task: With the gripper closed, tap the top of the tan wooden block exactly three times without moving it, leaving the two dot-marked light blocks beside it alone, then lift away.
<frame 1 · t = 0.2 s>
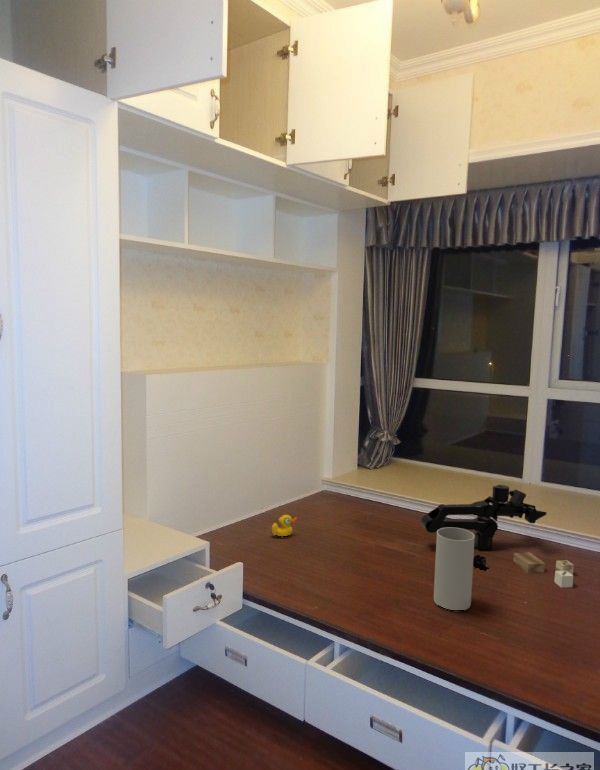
hand: (540, 510, 249), 17 cm above the table, tool horizontal, fingers open, 9 cm apart
cylinder vase: (451, 603, 199), on the table
pale birch block: (564, 573, 224), on the table
off-white painted block: (563, 584, 215), on the table
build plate: (479, 568, 229), on the table
tan wooden block: (528, 567, 230), on the table
duckling: (283, 537, 257), on the table
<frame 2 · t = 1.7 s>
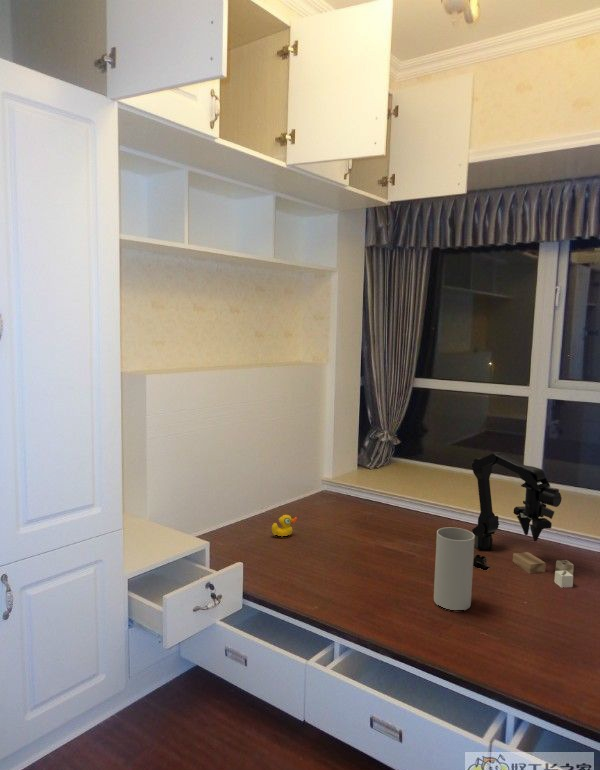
hand: (530, 537, 229), 12 cm above the table, tool pointing down, fingers open, 6 cm apart
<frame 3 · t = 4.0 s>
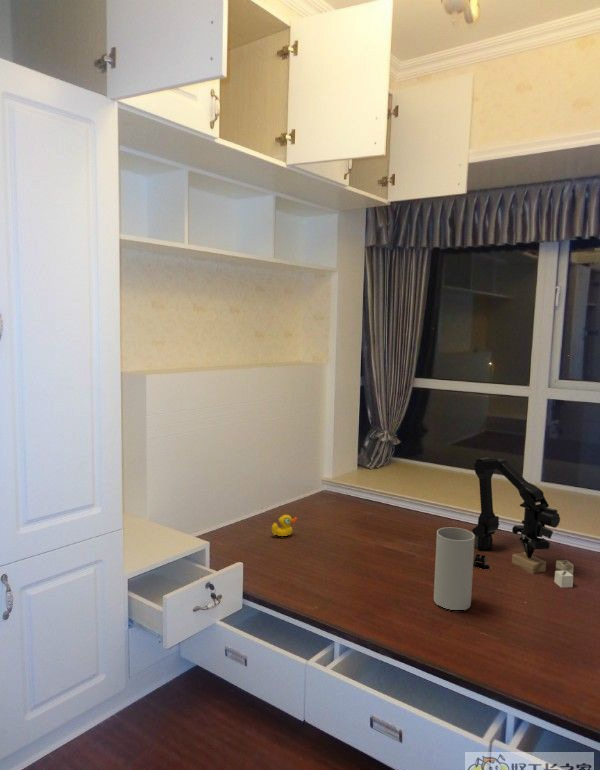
hand: (529, 557, 229), 4 cm above the table, tool pointing down, fingers closed
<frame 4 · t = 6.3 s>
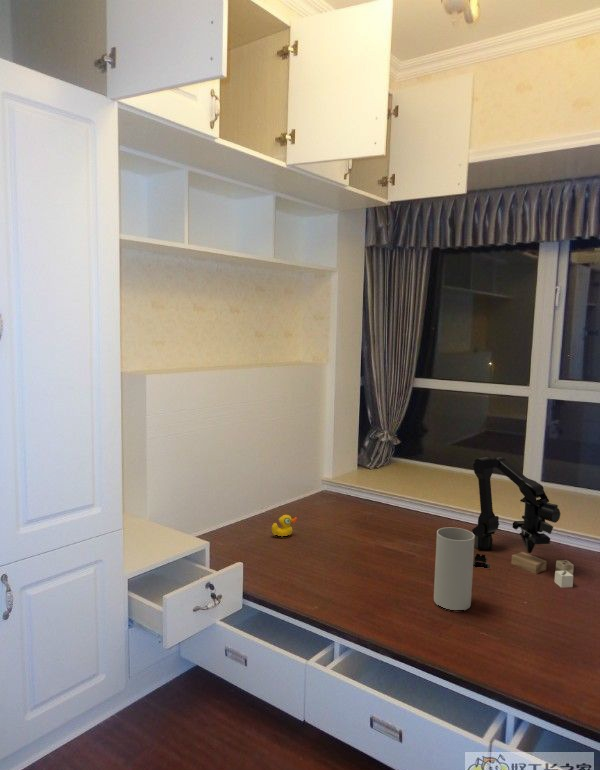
hand: (529, 552, 229), 6 cm above the table, tool pointing down, fingers closed
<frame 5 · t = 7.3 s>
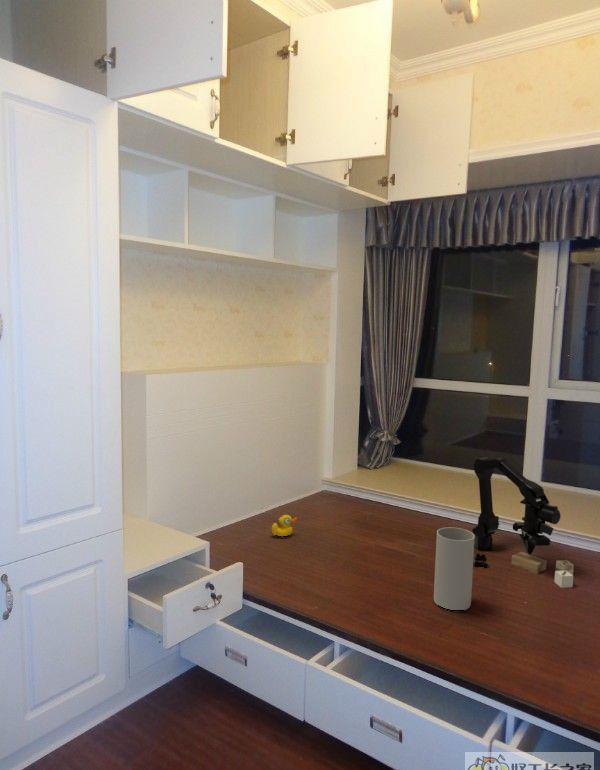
hand: (529, 554, 229), 5 cm above the table, tool pointing down, fingers closed
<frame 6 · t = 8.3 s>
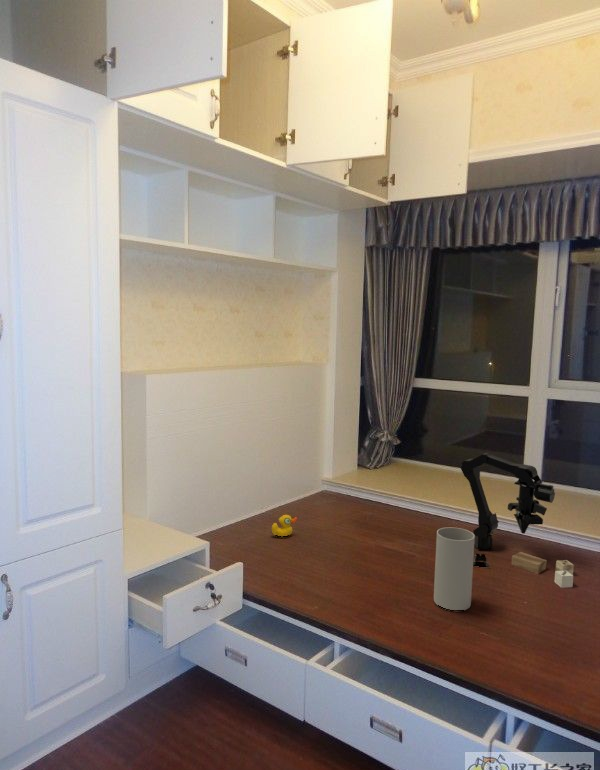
hand: (523, 533, 236), 11 cm above the table, tool pointing down, fingers closed
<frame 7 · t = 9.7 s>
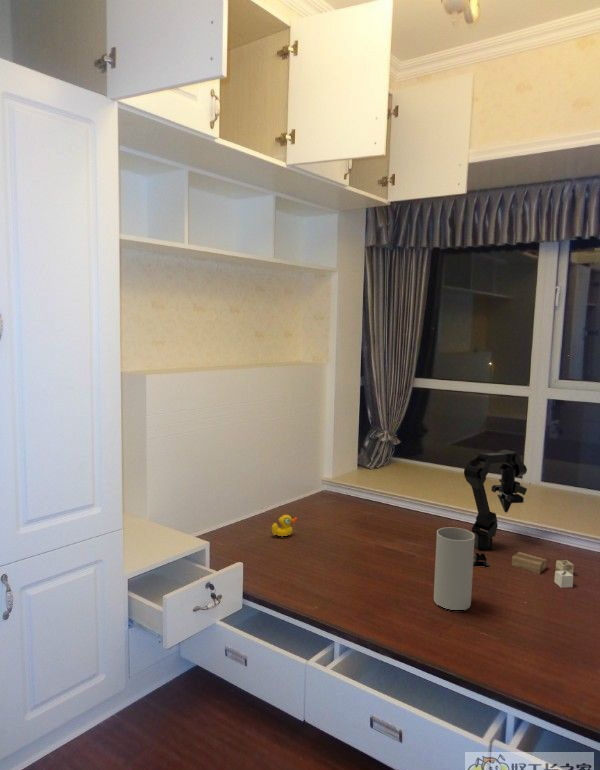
hand: (505, 512, 256), 13 cm above the table, tool pointing down, fingers closed
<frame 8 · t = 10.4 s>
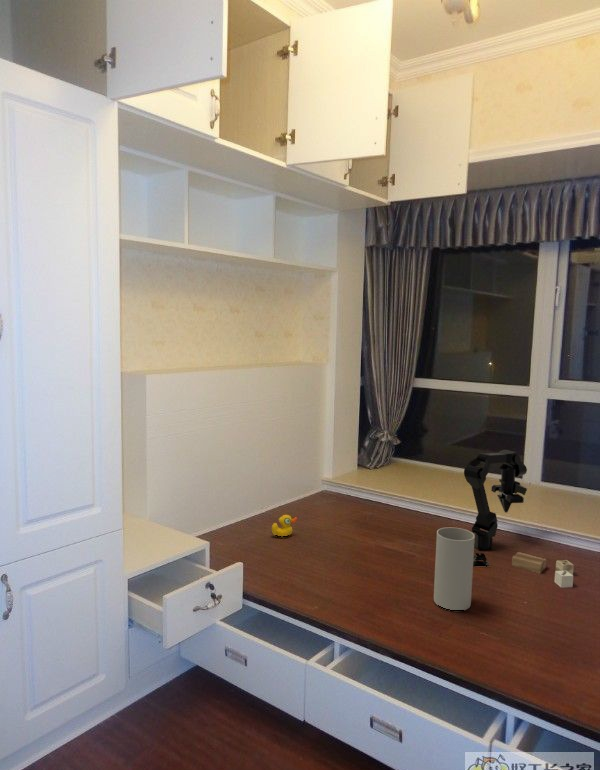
hand: (505, 512, 256), 13 cm above the table, tool pointing down, fingers closed
at the end: tan wooden block moved 0.4 cm from its start; tan wooden block tilted 0°; pale birch block moved 0.1 cm from its start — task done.
